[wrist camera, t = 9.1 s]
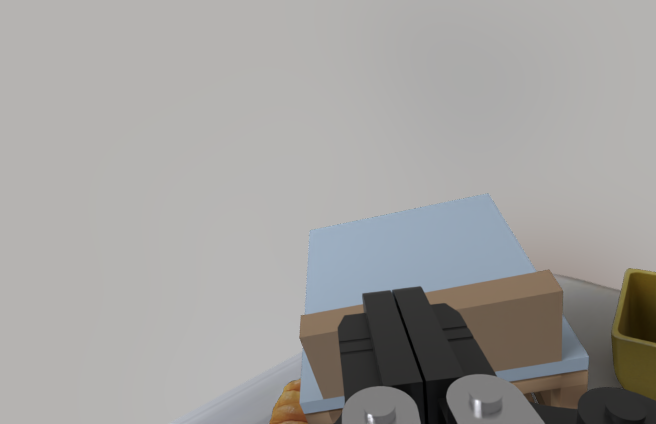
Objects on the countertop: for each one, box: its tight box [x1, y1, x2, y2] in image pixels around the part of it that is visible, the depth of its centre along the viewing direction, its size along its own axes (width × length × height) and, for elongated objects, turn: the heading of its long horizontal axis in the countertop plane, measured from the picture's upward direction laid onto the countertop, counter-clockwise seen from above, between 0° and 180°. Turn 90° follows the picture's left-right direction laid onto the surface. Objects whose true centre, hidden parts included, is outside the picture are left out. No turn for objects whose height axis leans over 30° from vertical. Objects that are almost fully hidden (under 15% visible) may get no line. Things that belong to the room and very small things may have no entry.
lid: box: [300, 193, 589, 414], centre depth 32 cm, size 16×18×6 cm
